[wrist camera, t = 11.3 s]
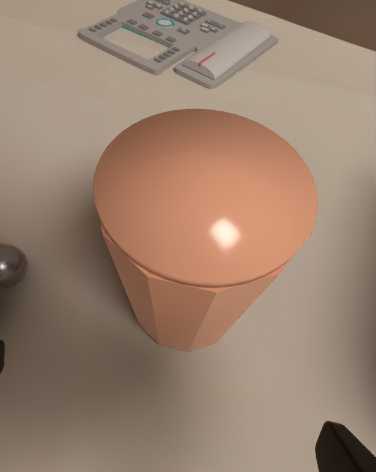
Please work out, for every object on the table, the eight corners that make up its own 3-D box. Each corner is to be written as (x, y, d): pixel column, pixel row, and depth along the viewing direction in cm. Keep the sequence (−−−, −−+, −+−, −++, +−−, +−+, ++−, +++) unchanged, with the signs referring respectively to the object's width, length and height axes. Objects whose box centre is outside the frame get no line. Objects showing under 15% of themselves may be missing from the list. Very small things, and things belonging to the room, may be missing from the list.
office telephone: (283, 27, 40) (209, 85, 31) (276, 47, 42) (206, 106, 33) (159, -20, 45) (66, 17, 36) (160, -1, 47) (72, 39, 38)
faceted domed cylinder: (189, 375, 17) (225, 343, 6) (113, 297, 19) (45, 175, 9) (255, 294, 20) (355, 178, 9) (183, 234, 22) (197, 87, 12)
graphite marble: (16, 300, 19) (-8, 285, 16) (-20, 285, 19) (-49, 268, 17) (43, 263, 20) (24, 244, 18) (9, 250, 21) (-14, 230, 18)
